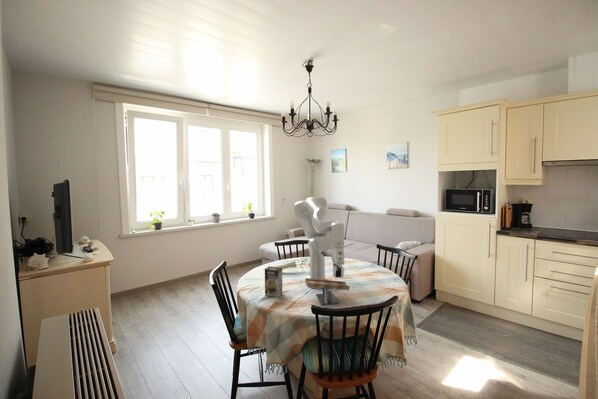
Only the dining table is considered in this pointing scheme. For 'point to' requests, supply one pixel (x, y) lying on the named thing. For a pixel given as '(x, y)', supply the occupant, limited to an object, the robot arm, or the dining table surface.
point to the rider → (341, 272)
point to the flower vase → (291, 265)
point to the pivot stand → (327, 296)
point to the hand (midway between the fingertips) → (337, 275)
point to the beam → (326, 284)
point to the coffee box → (273, 281)
